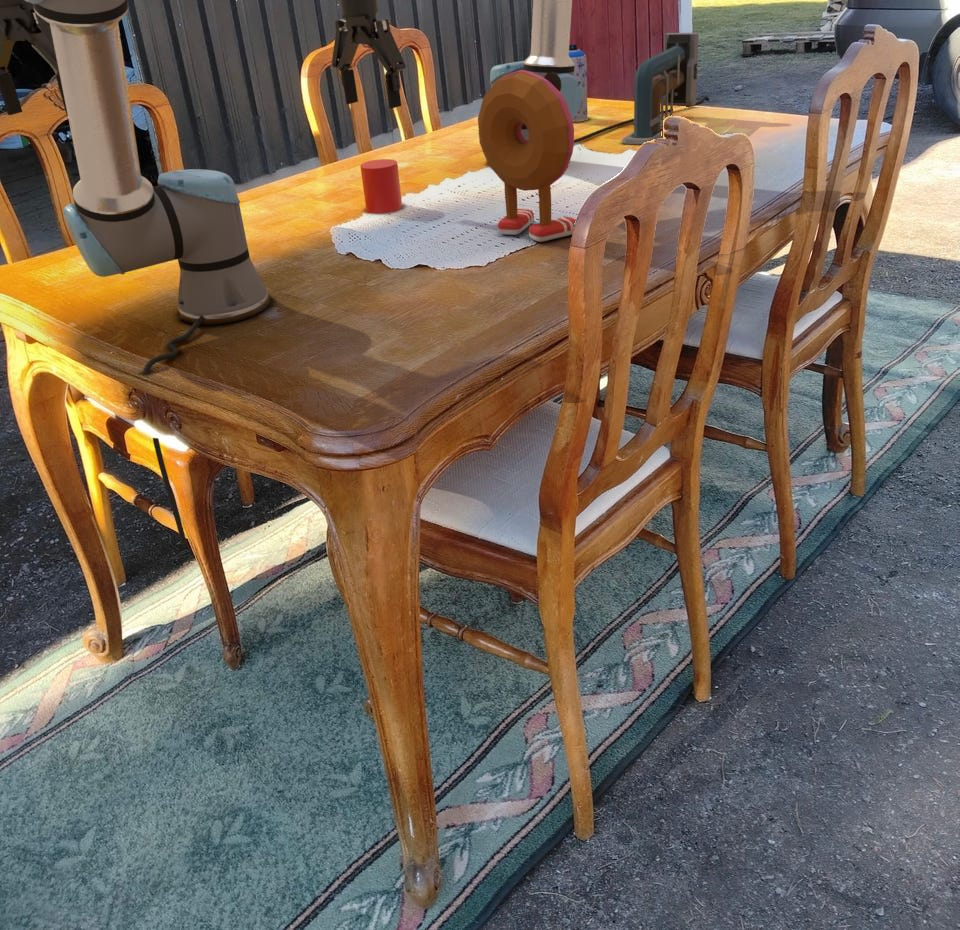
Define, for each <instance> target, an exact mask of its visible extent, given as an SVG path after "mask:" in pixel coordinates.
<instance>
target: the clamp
mask: <svg viewBox="0 0 960 930" xmlns="http://www.w3.org/2000/svg"><path fill="white" fill-rule="evenodd" d="M698 56H699V32H667V33H664V35H663V51H661V52H660V53H657V54H656V55H654V56H652V57H649V58H647V59H645V60H644V61H643V62H642V63H641V64H640V65H639V66H638V67H637V69H636V71H635V75H634V83H633V84H634V87H633V93H634V94H633V96H634V97H633V119H634V121H633V122H632V126H633V131H632V132H631V133H630V134H628V135H626V136H625V137H623V138H622V140H621V143H622V144H628V145H644V144H643V143H644V142H647V141H651V140H653V139H657V138H661V137H662V138H664V137H663V120H664V119H665V118H666V117H668V118H669V117H670V116H671V115H672V116H673V112H674V111H673V108H674V107H680V106H692V107H695V106H694V105H695V104H696V102H697V89H698V88H697V85H698V84H697V83H698V82H697V80H698V61H699V59H698V58H699V57H698ZM657 76H659V77H657ZM656 77H657V78H656ZM654 78H656V79H654ZM668 109H670V112H668ZM664 110H665V113H664V114H663V111H664ZM660 111H661V115H660ZM661 131H662V136H661ZM662 138H661V139H662Z"/></svg>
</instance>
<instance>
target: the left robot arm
mask: <svg viewBox="0 0 960 930" xmlns="http://www.w3.org/2000/svg"><path fill="white" fill-rule="evenodd" d="M128 11H129V4H128V0H0V95H1V97H2V101H3V104H4V107H5V110H6V114H7V116H13V115H17V114H20V113H23V109H22V106H21V105H22V104H21V103H20V98H19V95H18V93H17V89H16V85H15V82H14V79H13V76H12V73H11V72H10V70H9V69H8V67H9V64H10V59H11V56H12V54H13V53H12V52H13V49H14V45H15V43H16V42H18V41H20V42H28V43H29V44H31V45H33V46H35V48H36V49H37V50H38V51H39V52H40V53H41V54H42V56H43V57H44V58H45V59H46V60H47V61H48V62H49V64H51V65H52V67H53V68H54V69H55V70H56V71H57V72H56V74H55V79H56V82H57V85H58V90H59V93H60V96H61V100H62V104H63V108H64V111H65V114H66V115H65V116H67V117H68V122H69V127H70V133H71V137H72V138H71V139H72V143H73V148H74V153H75V157H76V158H75V159H76V164H77V169H78V173H79V178H80V179H79V180H78V181H77V183H75V185H74V186H73V189H72V198H73V202H74V203H69V204H67V205H65V206H64V207H63V216H64V219H65V221H66V224H67V228H68V229H69V231H70V234H71V236H72V239H73V241H74V243H75V245H76V247H77V249H78V251H79V253H80V255H81V257H82V258H83V260H84V262H85V264H86V265H87V267H88V269H89V270H90V271H91V273H93V274H94V275H96V276H97V277H101V278H106V277H111V276H117V275H125V274H126V273H129V272H133V271H138V270H141V269H145V268H148V267H152V266H156V265H160V264H164V263H168V262H172V261H176V260H177V262H178V266H179V283H178V294H177V310H178V314H179V318H180V319H182V320H183V321H184V322H186V323H189V324H192V325H191V326H190V328H189V329H188V330H187V331H186V332H185V333H184V334H182V335H180V336H177V337H174V338H171V339H170V340H168V341H167V342H166V343H165V344H166V348H167V349H168V350H169V351H170V352H167V353H164V354H159V355H157V356H153V357H152V358H150V359H149V360H148V361H147V362H146V364H145V365H144V368H143V370H142V375H144V376H146V375H148V374H149V373H150V370H151V368H152V367H153V366H154V365H155V364H156V363H158V362H162V361H165V360H169V359H172V358H175V357H177V355H178V354H179V349H178V347H176V346H175V344H178V343H181V342H183V341H186V340H188V339H189V338H190V337H191V336H193V334H194V333H195V331H196V330H197V329H198V327H199V326H201V325H202V326H203V325H204V326H205V325H206V326H210V325H222V324H230V323H233V322H239V321H241V320H245V319H248V318H251V317H253V316H256V315H258V314H260V312H263V311H264V310H265V309H266V308H267V307H268V306H269V305H270V296H269V291H268V288H267V287H266V284H265V283H264V282H263V280H262V278H261V276H260V274H259V272H258V270H257V269H256V267H255V265H254V264H253V262H252V260H251V257H250V251H249V246H248V241H247V236H246V232H245V227H244V220H243V217H242V211H241V206H240V203H241V201H240V200H241V199H239V197H238V193H237V188H236V184H235V182H234V180H233V179H232V177H231V176H230V175H229V174H227V173H225V172H222V171H219V170H212V169H202V168H201V169H200V168H199V169H198V168H197V169H196V168H192V169H176V170H169V171H166V172H162V173H159V175H158V176H157V177H158V178H157V184H158V185H156V186H153V184H152V182H150V180H148V179H147V178H146V177H145V176H143V175H142V173H141V167H140V166H141V165H140V160H139V153H138V145H137V139H136V133H135V132H136V131H135V125H134V119H133V113H132V112H133V111H132V106H131V99H130V93H129V92H130V91H129V86H128V80H127V72H126V66H125V59H124V52H123V45H122V40H121V33H120V26H119V22H120V21H121V20H122V19H123V18H124V17H125V16H126V15H127V14H128ZM152 443H153V446H154V451H155V455H156V459H157V462H158V466H159V470H160V473H161V477H162V481H163V485H164V487H165V490H166V494H167V497H168V501H169V504H170V509H171V511H172V514H173V518H174V522H175V525H176V528H177V532H178V535H179V540H180V543H181V545H182V546H186V545H187V544H188V542H187V539H186V534H185V531H184V527H183V523H182V520H181V515H180V511H179V508H178V505H177V502H176V499H175V495H174V492H173V488H172V486H171V483H170V479H169V476H168V475H169V474H168V471H167V468H166V464H165V460H164V456H163V453H162V448H161V444H160V441H159V438H158V437H152Z"/></svg>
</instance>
